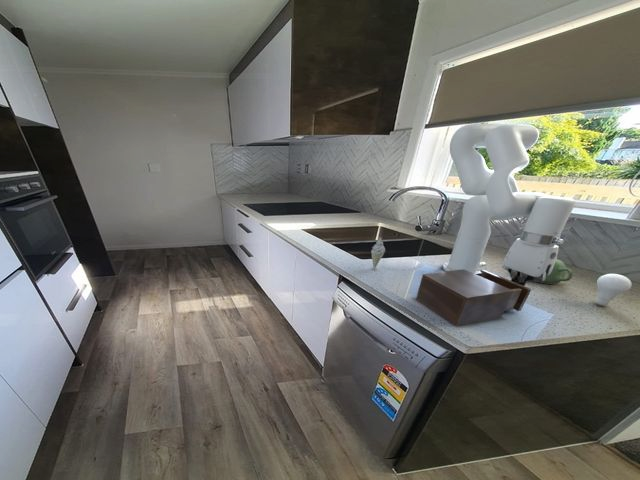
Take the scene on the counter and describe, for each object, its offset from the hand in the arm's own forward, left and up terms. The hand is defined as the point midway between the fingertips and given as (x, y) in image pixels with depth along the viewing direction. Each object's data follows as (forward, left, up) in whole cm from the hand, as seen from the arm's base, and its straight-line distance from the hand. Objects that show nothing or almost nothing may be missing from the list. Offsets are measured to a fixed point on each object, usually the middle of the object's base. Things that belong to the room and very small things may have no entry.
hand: (514, 290), depth 81 cm
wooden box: (+22, 0, -4) cm, 23 cm away
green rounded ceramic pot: (-28, -8, -4) cm, 29 cm away
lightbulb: (-25, +9, -4) cm, 26 cm away
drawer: (+11, 0, -3) cm, 12 cm away
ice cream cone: (+29, -31, -4) cm, 43 cm away
